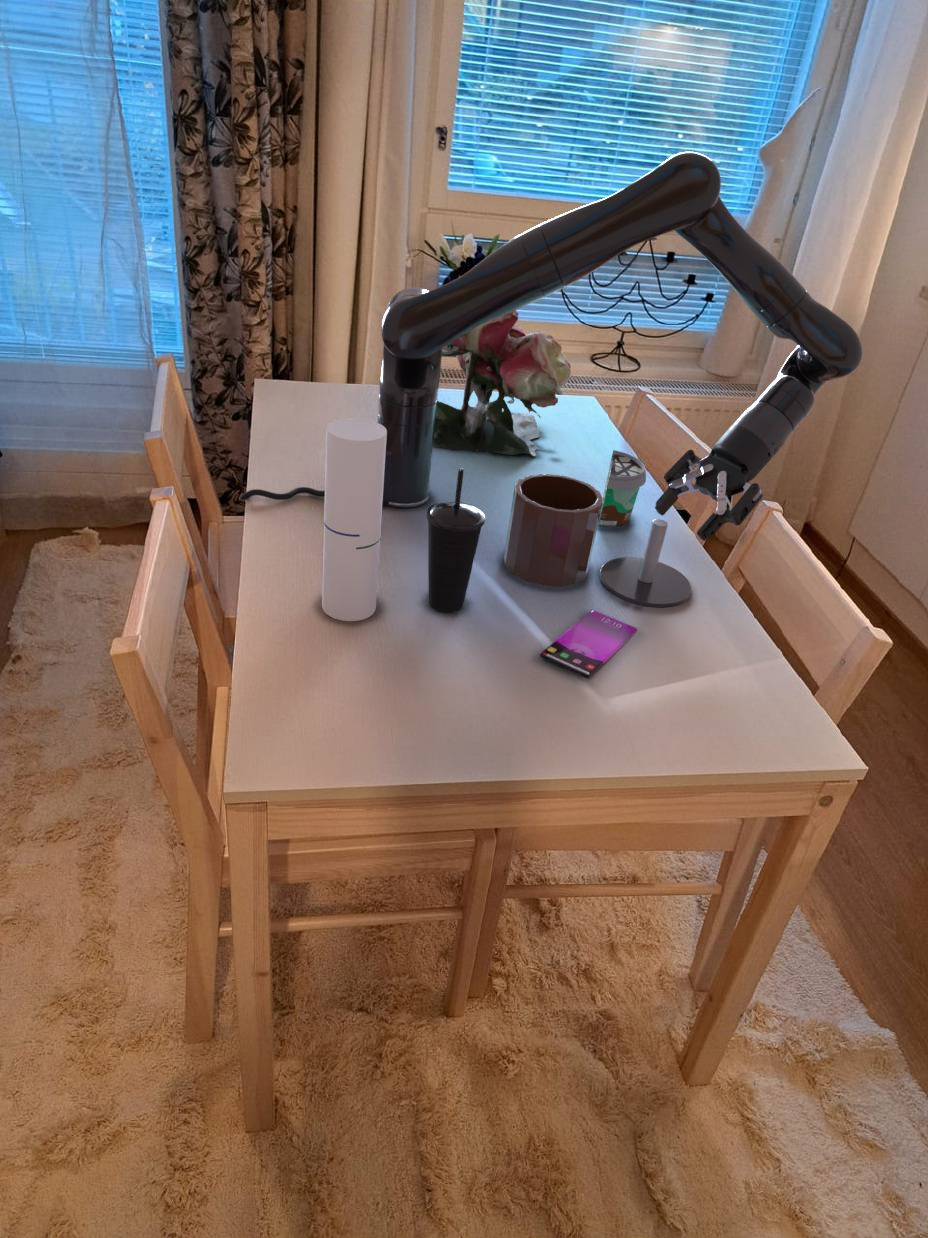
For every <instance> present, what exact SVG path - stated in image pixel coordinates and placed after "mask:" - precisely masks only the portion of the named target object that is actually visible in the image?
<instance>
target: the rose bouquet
mask: <svg viewBox="0 0 928 1238" xmlns="http://www.w3.org/2000/svg"><path fill="white" fill-rule="evenodd" d="M518 321H519V312H518V311H517V310H515V311H513V312H510V313H508V314H506V315H503V316H501V317H498V318H496V319H493V320H491V321H488V322H486V323H484V324H482V325H480V326H478V327H476V328H474V329H472V330H471V331H469V332H467V333H466V334H464V335H462V336H461V337H459V338H457V339H456V340H454V341H453V342H451V343H449V344H448V345H447V346H448V347H449V348H447V349H442V357H456V360H457V363H458V365H459V367H460V369H461V370H462V371H463V373H464V375H465V382H464V387H463V388H464V389H463V398H462V405H461V407H460V409H459V408H457V407H454V406H453V405H449V403H445V402H443V401H439V400H438V399H437V408H436V418H435V428H434V439H433V447H437V448H443V449H449V450H457V451H458V450H459V451H470V452H475V453H477V451H479V452H480V451H484V452H485V451H486V452H492V453H495V454H502V455H510V456H517V455H518V456H519V455H523V454H527V455H530V456H533V457H536V456H537V453H536V451H538V450H539V451H542V452H543V451H544V452H546V450H544V449H541V448H540V447H538V446H537V445H536V444H535V443H534V442H533V441H532V440H535V439H537V438H540V437H541V435H540V431H539V426H538V424H537V421H536V418H535V416H534V415H532V414H530V413H531V412H533V413H534V414H536V415H537V416H538V417H539V418H541V419H542V417H541V415H540V414H539V413H538V412H537V411H536V410H535V409H534V408H533V407H532V405H536V407H538V408H539V407H540V408H548V407H552V406H556V405H557V404H558V403H559V398H558V397H557V396H556V395H558V396H562V395H563V393H564V392H563V389H562V386H564V385H566V383H568V381H571V379H570V377H571V374H572V370H571V367H572V366H571V363H570V362H569V361H568V359H567V357H566V356H565V354H564V353H563V352H562V349H563V348H562V345H561V343H559V342H557V341H556V340H555V339H554V337H553V336H552V335H550V334H547V333H544V332H542V331H540V330H539V331H532V332H529V333H528V334H526V333H525V330H524V328H522V327H520V325H519V324H518V323H517V322H518ZM494 390H495V391H497V392H498V396H497V399H495V400H493V401H490V399H491V397H492V396H493V391H494ZM473 393H474V394H475V396H476V399H477V402H476V404H475V405H474V406H470V405H469V404H470V403H469V401H470V398H471V397H472V394H473ZM505 398H509V399H510V400H507V401H506V400H505ZM515 399H517V400H519V401H520V402H521V403H522V405H523V406H524V407H525V408H526V409H527V411H528V413H524V414H522V413H519V412H518V413H512V412H511V410H510V408H509V406H508V404H510V405H513V404H514V403H515ZM451 402H452V401H451ZM453 403H454V402H452V404H453Z"/></svg>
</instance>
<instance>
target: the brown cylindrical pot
mask: <svg viewBox="0 0 928 1238" xmlns="http://www.w3.org/2000/svg"><path fill="white" fill-rule="evenodd" d="M602 503H603V495H602V494H601V492H600V491H599V490H598V489H597V488H595V486H593V485H592V484H590V483H587V482H585V481H584V480H581V479H578V478H575V477H570V476H565V475H561V474H553V473H552V474H551V473H540V474H530V475H528V476H525V477H522V478H520V479H518V481H517V482H516V483H515V484H514V487H513V495H512V501H511V508H510V512H509V513H510V514H509V520H508V526H507V534H506V540H505V547H504V552H503V562H504V566H505V567H506V569H507V570H509V572H510V573H512V575H514V576H516V577H518V578H520V579H522V580H524V581H525V582H527V583H532V584H535V585H540V586H543V587H559V588H560V587H561V588H562V587H566V586H567V587H568V586H573V585H576V584H578V583H580V582H581V581H583V580H585V579H586V576H587V574H588V572H589V568H590V563H591V559H592V554H593V550H594V544H595V540H596V535H597V530H598V526H599V521H600V516H601V514H600V513H601V508H602Z"/></svg>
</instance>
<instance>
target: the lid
mask: <svg viewBox="0 0 928 1238" xmlns="http://www.w3.org/2000/svg"><path fill="white" fill-rule="evenodd" d="M668 526H669V523H668V522H667V521H666V520H664V519H661V518H657V519H653V520H652V522H651V526H650V530H649V534H648V537H647V541H646V545H645V550H644V554H643V557H638V556H636V557H635V556H624V557H617V558H613V559H610V560H608V561H606V562H605V563H604V564H603V565H602V566H601V568H600V571H599V580H600V582H601V584H602V585H603V586H604V588H605V589H606V590H607V591H609V592H610V593H611V594H613V595H614V596H616V597H617V598H619V599H622V600H624V601H627V602H630V603H632V604H636V605H638V606H644V607H650V608H671V607H676V606H679V605H681V604H683V603H685V602H686V601H687V600H688V599H689V598H690V596H691V593H692V585H691V583H690V580H688V578H687V577H686V576H685V575H684V574H683V573H682V572H680V571H679V570H677V568H674V567H672V566H670V565H668V564H665V563H663V562H660V561H659V560H660V558H661V557H660V556H661V553H662V549H663V545H664V541H665V537H666V534H667V530H668Z"/></svg>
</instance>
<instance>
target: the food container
mask: <svg viewBox="0 0 928 1238" xmlns="http://www.w3.org/2000/svg"><path fill="white" fill-rule="evenodd" d="M607 473H608V474H607V477H606V482H605V487H604V492H603V495H602V498H603V503H602V508H601V513H600V517H599V522H598V526H599V527H604V528H608V527H609V528H616V527H622V526H624V525H626V524H628V523H629V521H630V520H631V516H632V514H633V513H632V512H633V510H634V506H635V503H636V500H637V497H638V494H639V491H640V488H641V487H642V486H644V485H645V484H646V483H647V482H646V481H647V469H646V466H645V463H644V462H643V461H642V460H640V459H639V458H637V457H635V456H634V455H632V454H630V453H627V452H624V451H619V450H616V449H615V450H614V449H613V450H612V453H611V458H610V463H609V468H608V472H607Z"/></svg>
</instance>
